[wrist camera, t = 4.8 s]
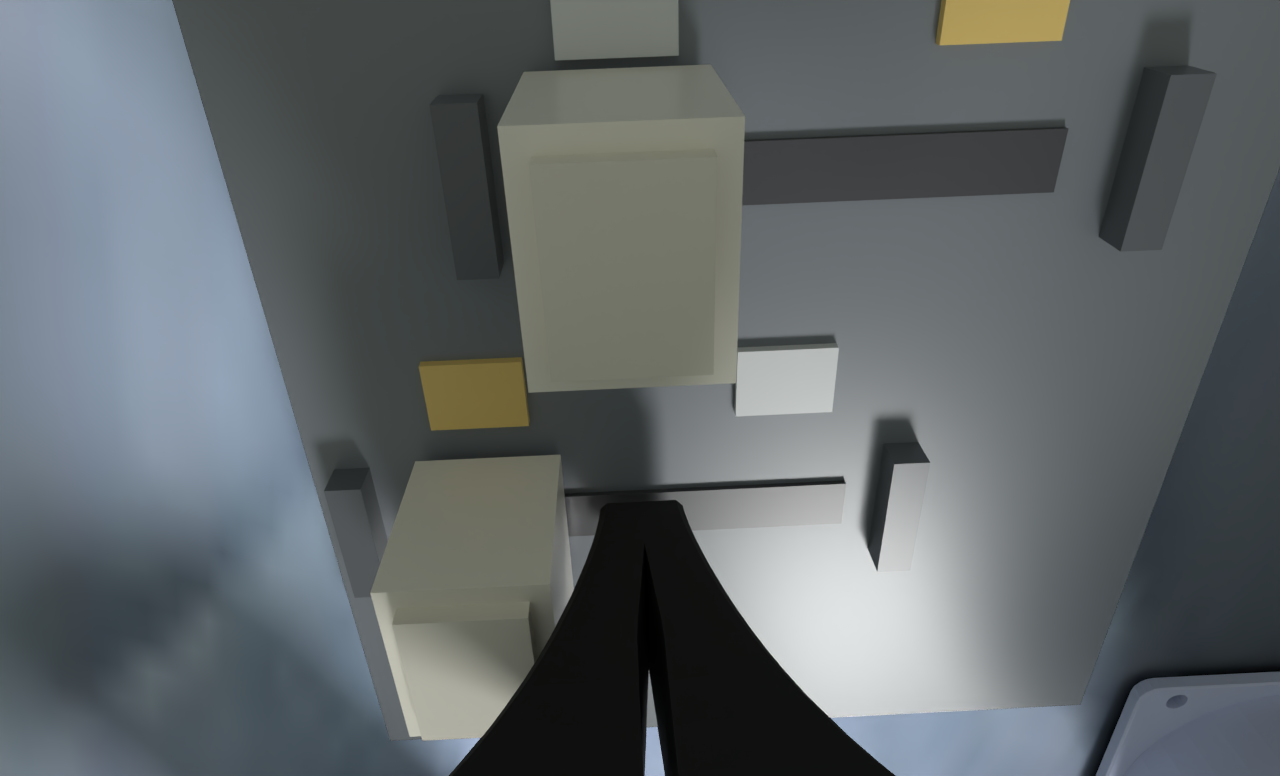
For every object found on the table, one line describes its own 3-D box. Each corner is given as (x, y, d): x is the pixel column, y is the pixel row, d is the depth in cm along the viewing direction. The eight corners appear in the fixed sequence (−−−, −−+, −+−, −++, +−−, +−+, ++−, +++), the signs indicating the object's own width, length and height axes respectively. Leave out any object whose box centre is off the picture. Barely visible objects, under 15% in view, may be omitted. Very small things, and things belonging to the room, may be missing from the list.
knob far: (561, 454, 14) (548, 601, 11) (573, 587, 15) (565, 745, 12) (414, 461, 13) (364, 609, 11) (443, 594, 15) (405, 754, 12)
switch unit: (1245, -94, 12) (1419, -96, 10) (1031, 621, 20) (1094, 728, 17) (235, -58, 12) (132, -47, 9) (413, 652, 20) (383, 766, 17)
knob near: (710, 64, 10) (749, 123, 8) (707, 280, 12) (739, 395, 9) (523, 71, 10) (493, 132, 8) (544, 287, 12) (526, 406, 9)
